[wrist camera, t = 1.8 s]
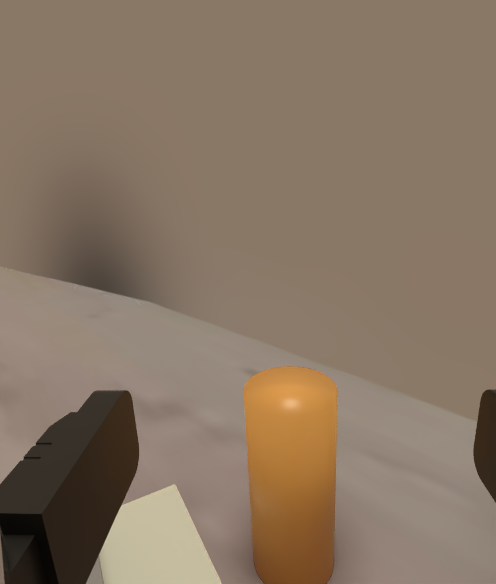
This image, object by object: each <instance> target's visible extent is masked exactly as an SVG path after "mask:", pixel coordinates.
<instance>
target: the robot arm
mask: <svg viewBox="0 0 496 584" xmlns="http://www.w3.org/2000/svg"><path fill="white" fill-rule="evenodd" d="M138 460H139V443H138V436H137V430H136V423H135V416H134V409H133V402H132V397H131V394H130V393H129V391H95V392H93V393H92V394H91V395H90V397H89V398H88V399H87V400H86V402H85V403H84V404H83V405H82V407H81V408H80V409H79V411H78V412H71V413H69V414H68V415H66V416H65V417H63V418H62V419H60V420H59V421H57V422H56V423H54V424H53V425H51V426H50V427H49V428H48V429H47V430H46V432H45V433H44V434H43V435H42V436H41V437H40V439H39V440H38V441H37V442H36V446H33V447H32V448H31V449H30V450H29V451H28V453H27V454H26V455H25V456H24V460H23V461H20V462H19V463H18V464H17V465H16V467H15V468H14V469H13V470H12V471H11V472H10V474H9V475H8V476H7V477H6V478H5V479H4V481H3V482H2V483H1V484H0V584H86V582H87V580H88V578H89V576H90V574H91V571H92V569H93V567H94V565H95V562H96V560H97V558H98V556H99V554H100V551H101V549H102V547H103V545H104V543H105V540H106V538H107V536H108V534H109V531H110V529H111V527H112V525H113V523H114V520H115V518H116V516H117V514H118V511H119V509H120V507H121V505H122V503H123V500H124V498H125V496H126V494H127V491H128V489H129V487H130V485H131V483H132V480H133V478H134V476H135V473H136V470H137V466H138ZM474 462H475V466H476V470H477V473H478V475H479V477H480V479H481V481H482V482H483V484H484V485H485V487H486V488H487V490H488V491H489V493H490V494H491V496H492V498H493V499H494V501H495V502H496V390H486V391H485V392H484V393H483V394H482V397H481V402H480V408H479V415H478V422H477V429H476V435H475V442H474Z"/></svg>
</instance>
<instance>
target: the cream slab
mask: <svg viewBox="0 0 496 584" xmlns="http://www.w3.org/2000/svg"><path fill="white" fill-rule="evenodd" d="M86 584H222V583H221V581H220V579H219V577H218V575H217V572H216V570H215V568H214V566H213V564H212V562H211V560H210V558H209V555H208V553H207V551H206V549H205V547H204V545H203V543H202V540H201V538H200V536H199V534H198V532H197V530H196V528H195V526H194V523H193V521H192V519H191V517H190V515H189V513H188V511H187V508H186V506H185V504H184V502H183V500H182V498H181V496H180V494H179V491H178V489H177V487H176V485H175V484H174V485H172V486H169V487H167V488H164V489H162V490H159V491H157V492H154V493H152V494H149V495H147V496H144V497H142V498H139V499H137V500H134V501H132V502H129V503H127V504H124V505H122V506H121V507H120V509H119V511H118V514H117V516H116V518H115V520H114V523H113V525H112V527H111V529H110V531H109V534H108V536H107V538H106V540H105V543H104V545H103V547H102V549H101V551H100V554H99V556H98V558H97V560H96V562H95V565H94V567H93V569H92V571H91V574H90V576H89V578H88V580H87V582H86Z"/></svg>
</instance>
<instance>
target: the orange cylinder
mask: <svg viewBox="0 0 496 584" xmlns="http://www.w3.org/2000/svg"><path fill="white" fill-rule="evenodd" d="M337 395H338V391H337V387H336V385H335V383H334V382H333V381H332V380H331V379H330V378H329V377H328V376H326V375H324V374H323V373H320V372H318V371H315V370H312V369H308V368H303V367H293V366H287V367H276V368H271V369H267V370H264V371H262V372H259V373H257V374H256V375H254V376H253V377H251V378H250V379H249V380H248V381H247V383H246V384H245V386H244V405H245V422H246V439H247V456H248V473H249V490H250V507H251V524H252V541H253V558H254V565H255V569H256V571H257V574H258V576H259V577H260V579H261V580H262V581H263V582H264V583H265V584H326V583H327V582H328V581H329V579H330V577H331V574H332V572H333V567H334V531H335V486H336V440H337Z"/></svg>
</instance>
